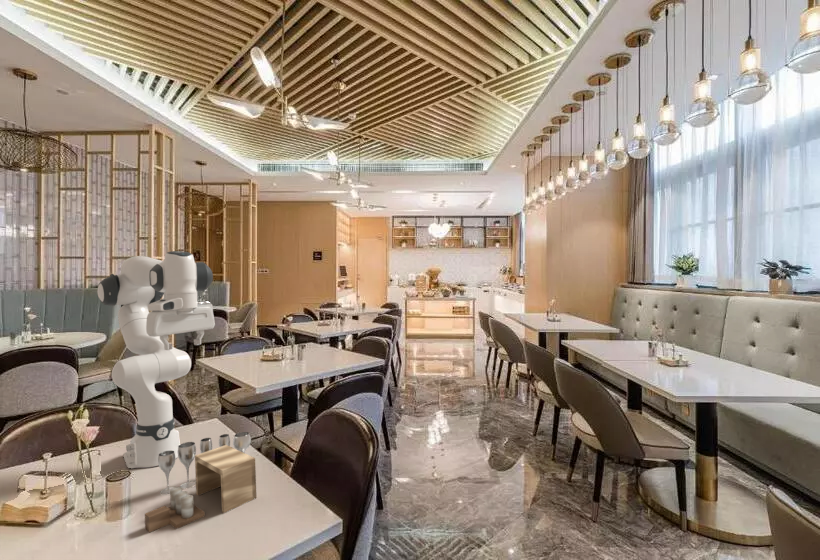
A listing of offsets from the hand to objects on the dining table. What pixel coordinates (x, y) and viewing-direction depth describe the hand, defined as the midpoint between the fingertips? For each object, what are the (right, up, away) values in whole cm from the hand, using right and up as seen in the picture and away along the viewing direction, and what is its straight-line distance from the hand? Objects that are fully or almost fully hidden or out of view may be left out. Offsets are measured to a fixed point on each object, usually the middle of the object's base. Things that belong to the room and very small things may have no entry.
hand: (183, 347), depth 134 cm
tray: (+5, -45, -16) cm, 48 cm away
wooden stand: (+15, -44, -4) cm, 47 cm away
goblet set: (+4, -45, +7) cm, 46 cm away
